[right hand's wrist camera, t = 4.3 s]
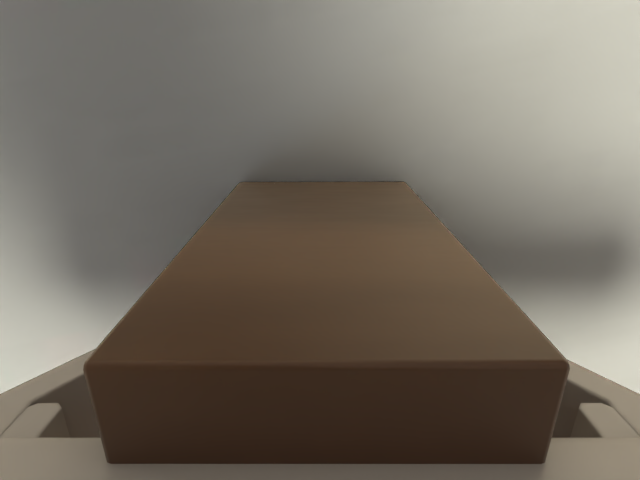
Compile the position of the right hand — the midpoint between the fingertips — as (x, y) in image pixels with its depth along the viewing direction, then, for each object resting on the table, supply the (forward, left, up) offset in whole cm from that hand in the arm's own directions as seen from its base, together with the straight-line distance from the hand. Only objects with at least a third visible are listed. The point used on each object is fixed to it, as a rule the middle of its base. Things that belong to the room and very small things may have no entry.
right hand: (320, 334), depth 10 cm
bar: (+8, 0, -4) cm, 9 cm away
